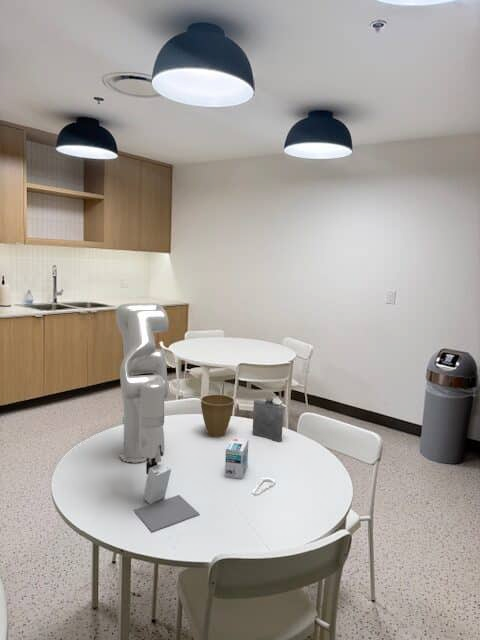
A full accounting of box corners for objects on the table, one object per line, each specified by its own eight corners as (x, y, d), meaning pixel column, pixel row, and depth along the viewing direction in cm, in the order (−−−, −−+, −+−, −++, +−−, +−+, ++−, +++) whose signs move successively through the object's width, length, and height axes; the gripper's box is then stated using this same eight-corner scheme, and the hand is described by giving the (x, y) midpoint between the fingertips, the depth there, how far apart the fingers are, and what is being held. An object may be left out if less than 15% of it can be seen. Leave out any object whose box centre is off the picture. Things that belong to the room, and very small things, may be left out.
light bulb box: (242, 479, 161) (243, 451, 159) (224, 477, 162) (225, 449, 161) (247, 466, 171) (249, 439, 170) (230, 463, 173) (231, 437, 171)
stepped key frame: (264, 500, 150) (264, 496, 149) (250, 497, 152) (251, 492, 151) (277, 481, 161) (277, 477, 161) (264, 478, 163) (264, 474, 163)
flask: (255, 432, 204) (257, 394, 201) (283, 440, 197) (285, 400, 194) (251, 434, 201) (252, 396, 198) (279, 442, 194) (282, 402, 191)
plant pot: (232, 441, 193) (234, 405, 191) (198, 439, 193) (199, 404, 191) (233, 427, 208) (234, 394, 206) (201, 426, 208) (202, 393, 206)
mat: (133, 510, 139) (133, 509, 139) (179, 495, 149) (179, 494, 149) (151, 532, 129) (151, 531, 129) (199, 515, 138) (199, 513, 138)
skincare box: (157, 490, 149) (163, 460, 146) (165, 498, 147) (172, 468, 143) (141, 497, 145) (148, 466, 141) (150, 506, 142) (156, 475, 138)
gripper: (131, 414, 147) (131, 467, 149) (151, 429, 135) (151, 487, 138) (152, 410, 151) (152, 462, 154) (173, 425, 139) (173, 480, 142)
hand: (151, 473), depth 146 cm, fingers closed
